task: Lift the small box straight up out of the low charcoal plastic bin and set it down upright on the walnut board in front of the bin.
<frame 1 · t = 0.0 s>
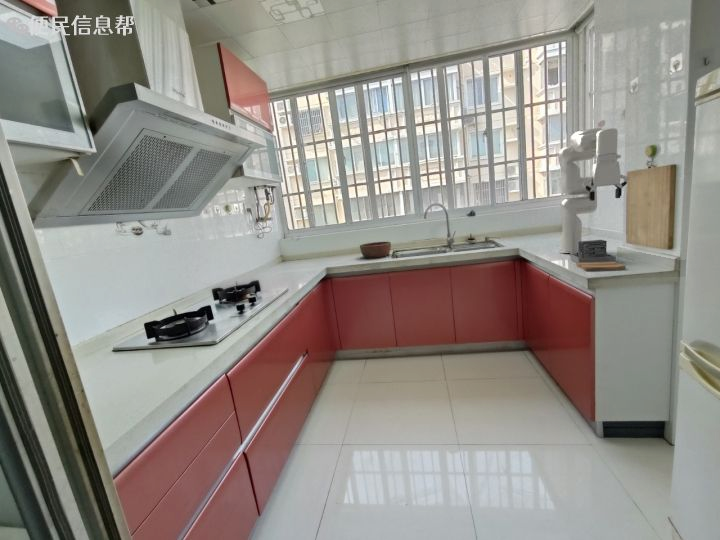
hand: (604, 199, 146), 31 cm above the counter, tool pointing down, fingers open, 9 cm apart
small box: (591, 261, 167), resting in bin
walnut board: (599, 267, 153), on the counter
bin: (591, 261, 167), on the counter
wooden bowl: (376, 256, 265), on the counter
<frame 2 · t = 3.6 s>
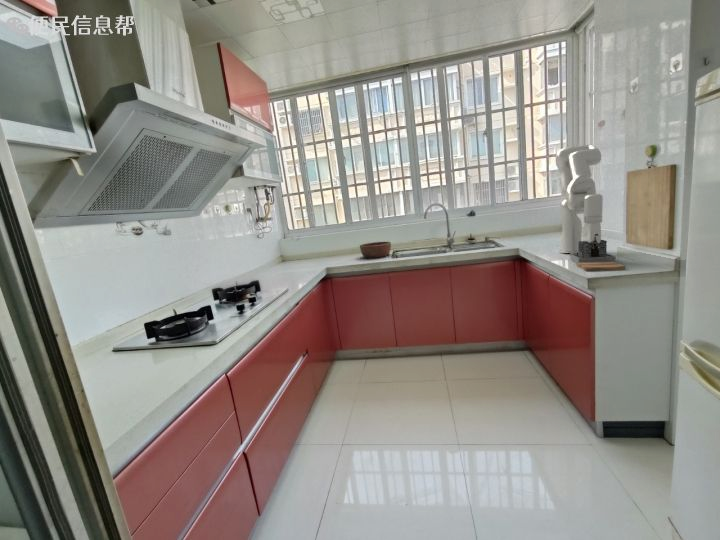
hand: (592, 254, 166), 3 cm above the counter, tool pointing down, fingers closed on small box, 6 cm apart
small box: (592, 261, 167), resting in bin, touching gripper
everything else where it was.
when the fingers open (6 cm above the counter, at t = 9.7 s): small box drops 2 cm, resting on walnut board.
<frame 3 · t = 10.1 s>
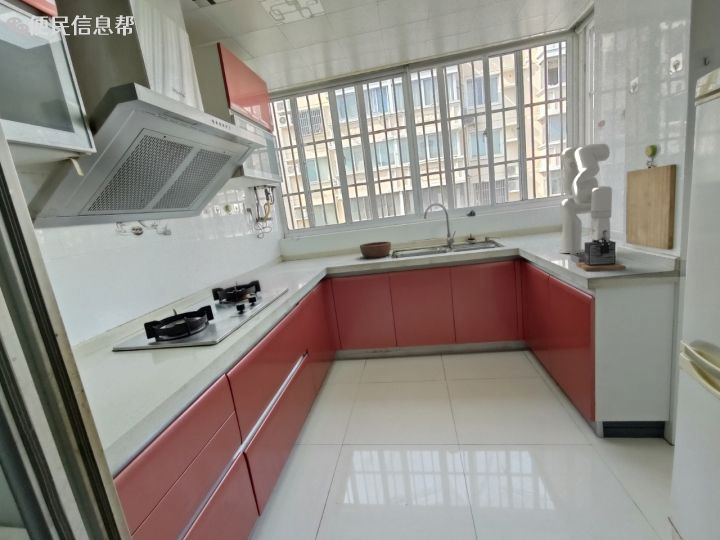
hand: (600, 252, 151), 7 cm above the counter, tool pointing down, fingers open, 9 cm apart
small box: (599, 264, 153), point 1 cm above the counter, touching walnut board
everything else where it was.
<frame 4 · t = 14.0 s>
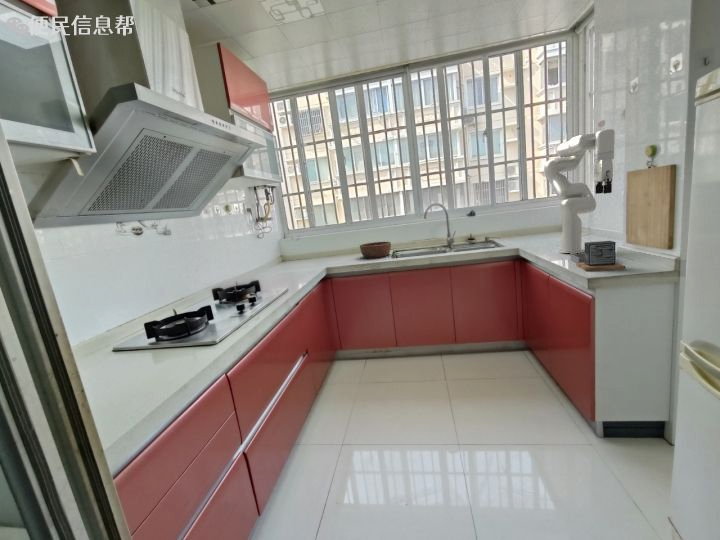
hand: (603, 193, 161), 33 cm above the counter, tool pointing down, fingers open, 9 cm apart
nothing on the counter moved.
at the end: small box inside the target area on the walnut board (0.5 cm from its centre), point 1.3 cm above the walnut board's base; small box tilted 0°; the gripper is holding nothing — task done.
